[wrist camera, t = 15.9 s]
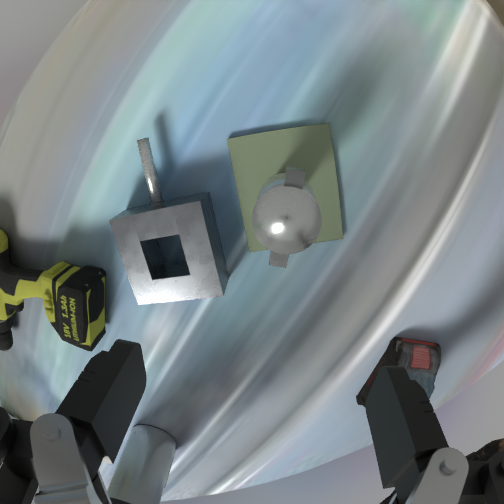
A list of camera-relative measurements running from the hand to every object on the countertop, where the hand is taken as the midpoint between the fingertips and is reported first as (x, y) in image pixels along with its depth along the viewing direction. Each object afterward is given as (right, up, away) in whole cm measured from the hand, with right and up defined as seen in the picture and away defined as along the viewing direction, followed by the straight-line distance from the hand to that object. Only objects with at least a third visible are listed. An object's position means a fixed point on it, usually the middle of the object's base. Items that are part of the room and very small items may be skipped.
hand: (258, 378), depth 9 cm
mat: (+3, +10, +21) cm, 24 cm away
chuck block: (-9, +8, +23) cm, 26 cm away
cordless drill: (-33, -5, +31) cm, 46 cm away
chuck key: (+3, +10, +21) cm, 23 cm away
